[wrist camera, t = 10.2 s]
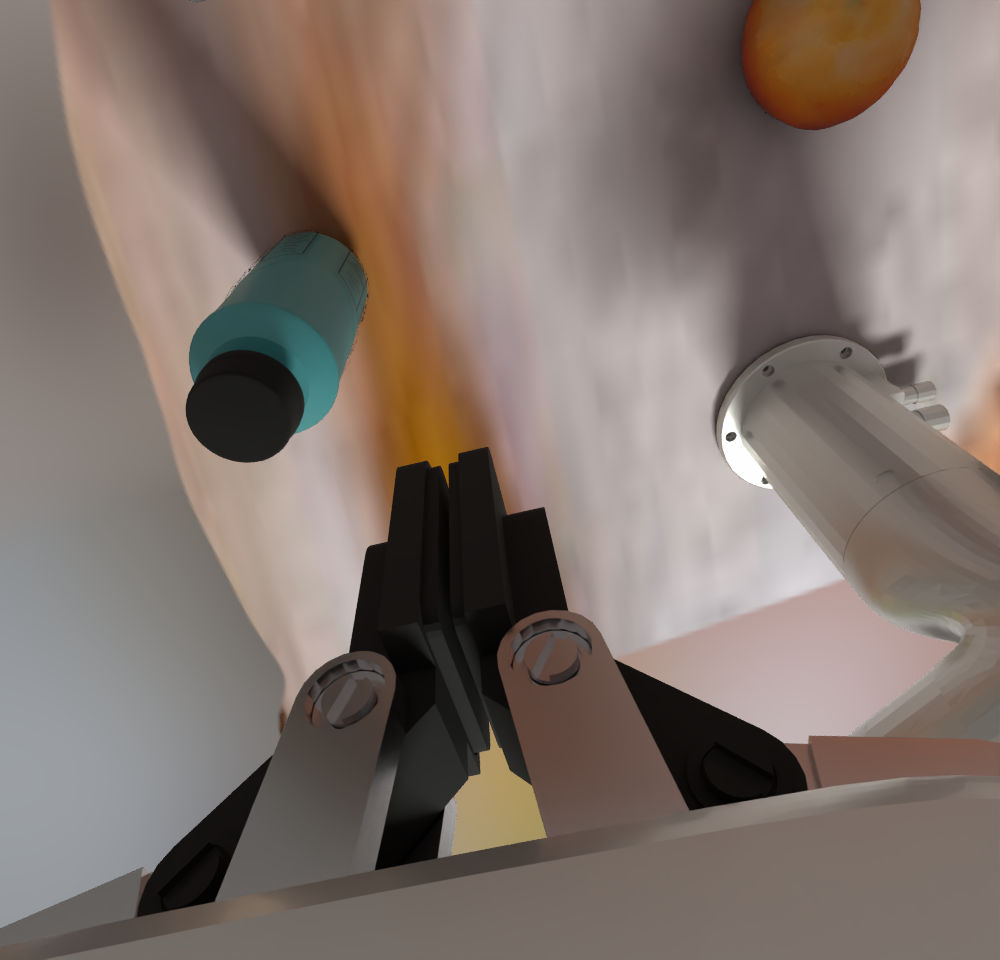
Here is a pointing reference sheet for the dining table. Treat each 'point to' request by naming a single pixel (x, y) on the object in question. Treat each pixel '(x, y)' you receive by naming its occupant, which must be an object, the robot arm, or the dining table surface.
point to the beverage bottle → (276, 348)
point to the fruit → (825, 56)
